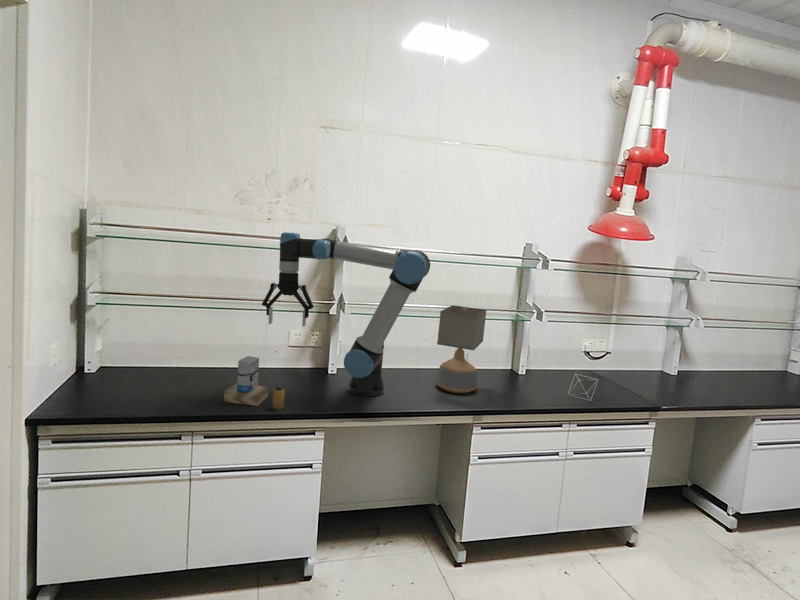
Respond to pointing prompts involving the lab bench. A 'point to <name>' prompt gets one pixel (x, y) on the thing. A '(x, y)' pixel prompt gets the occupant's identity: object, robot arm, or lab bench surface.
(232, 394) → the beech plinth
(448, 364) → the desk lamp
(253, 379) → the ink box
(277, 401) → the amber bottle
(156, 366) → the lab bench surface
